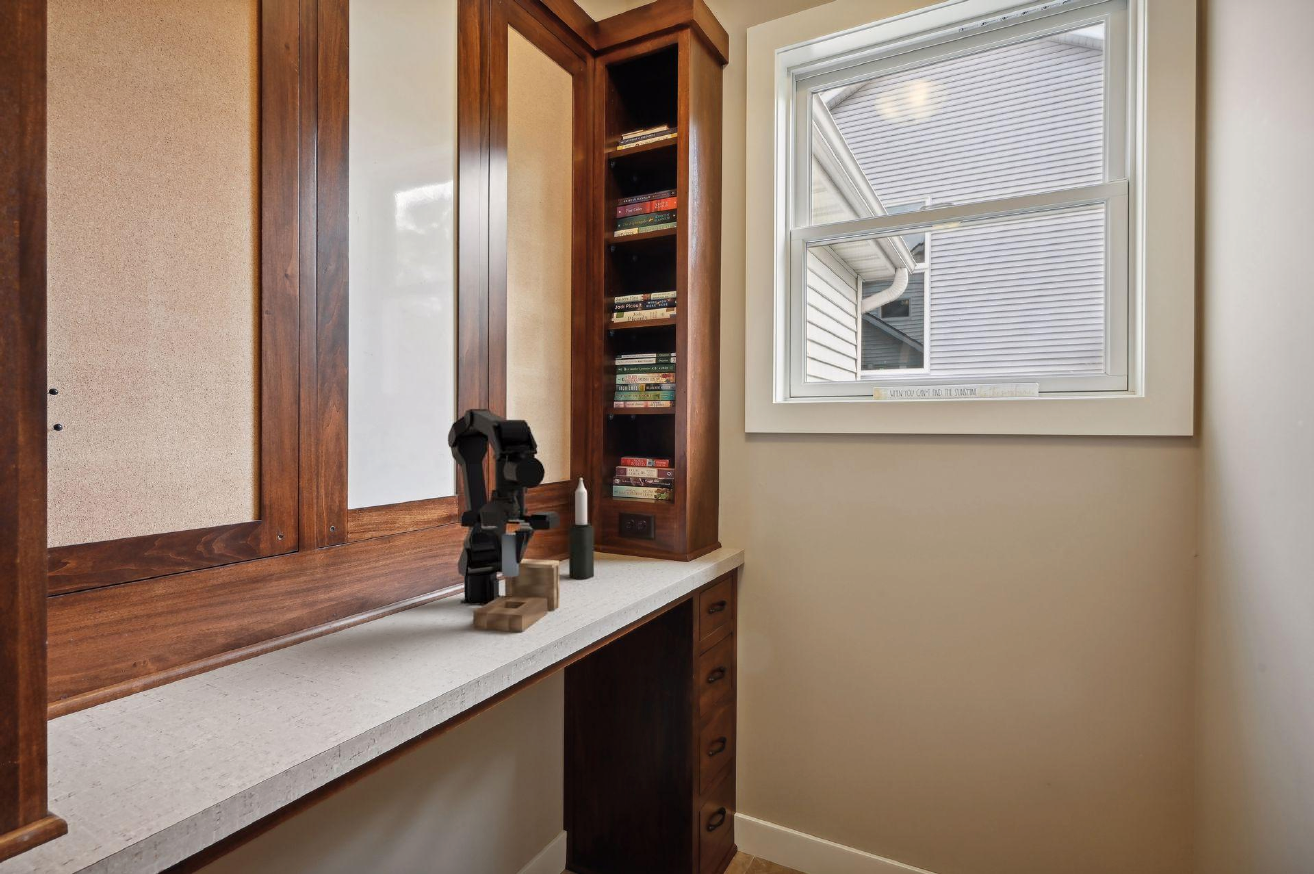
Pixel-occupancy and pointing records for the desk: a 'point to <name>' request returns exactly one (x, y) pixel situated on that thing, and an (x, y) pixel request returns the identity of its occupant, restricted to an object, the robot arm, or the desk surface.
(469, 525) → the robot arm
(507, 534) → the peg
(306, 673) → the desk surface
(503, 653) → the desk surface
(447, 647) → the desk surface
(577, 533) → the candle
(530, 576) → the socket station
